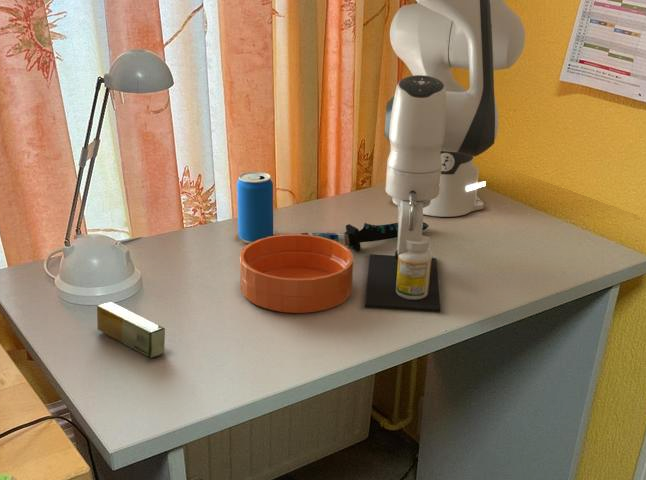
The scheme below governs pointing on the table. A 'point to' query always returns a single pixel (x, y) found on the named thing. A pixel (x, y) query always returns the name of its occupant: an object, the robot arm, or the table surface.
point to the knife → (363, 234)
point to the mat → (384, 287)
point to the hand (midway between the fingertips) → (406, 260)
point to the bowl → (296, 273)
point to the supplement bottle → (414, 270)
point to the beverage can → (255, 206)
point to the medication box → (131, 329)
